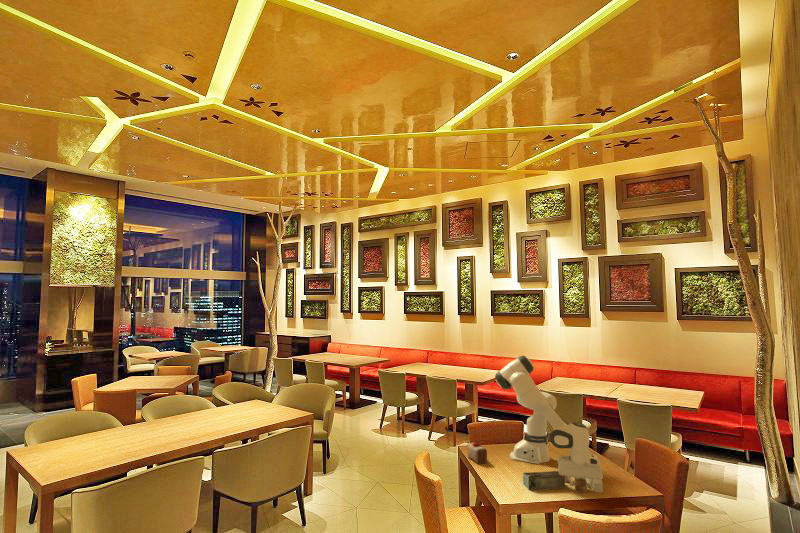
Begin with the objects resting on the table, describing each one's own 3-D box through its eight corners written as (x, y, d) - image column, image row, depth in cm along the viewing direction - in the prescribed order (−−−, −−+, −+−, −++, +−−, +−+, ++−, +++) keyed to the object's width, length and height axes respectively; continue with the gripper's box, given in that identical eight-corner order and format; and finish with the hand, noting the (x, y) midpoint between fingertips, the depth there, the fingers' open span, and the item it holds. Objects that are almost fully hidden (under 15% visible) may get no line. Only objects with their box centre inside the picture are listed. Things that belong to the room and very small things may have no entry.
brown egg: (561, 482, 230) (561, 471, 230) (561, 478, 234) (561, 468, 234) (571, 483, 228) (570, 472, 229) (570, 479, 233) (570, 469, 233)
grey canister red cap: (465, 457, 265) (465, 440, 266) (477, 455, 268) (477, 438, 269) (477, 465, 252) (477, 447, 253) (489, 463, 255) (489, 445, 256)
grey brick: (603, 493, 217) (602, 484, 217) (594, 492, 218) (593, 483, 218) (600, 486, 224) (600, 478, 225) (592, 485, 226) (591, 477, 226)
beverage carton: (522, 484, 227) (522, 470, 227) (558, 482, 229) (558, 469, 230) (528, 490, 219) (528, 476, 219) (566, 489, 221) (566, 475, 222)
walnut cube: (575, 491, 218) (575, 480, 218) (574, 487, 223) (574, 477, 223) (586, 492, 217) (586, 482, 217) (585, 488, 221) (585, 478, 222)
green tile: (577, 483, 228) (577, 481, 228) (576, 476, 237) (576, 475, 237) (597, 485, 226) (597, 484, 226) (594, 478, 234) (594, 477, 234)
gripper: (557, 456, 221) (558, 486, 220) (603, 461, 215) (603, 491, 214) (557, 452, 227) (557, 481, 226) (601, 457, 221) (601, 486, 220)
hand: (580, 486), depth 220 cm, fingers open, 7 cm apart
